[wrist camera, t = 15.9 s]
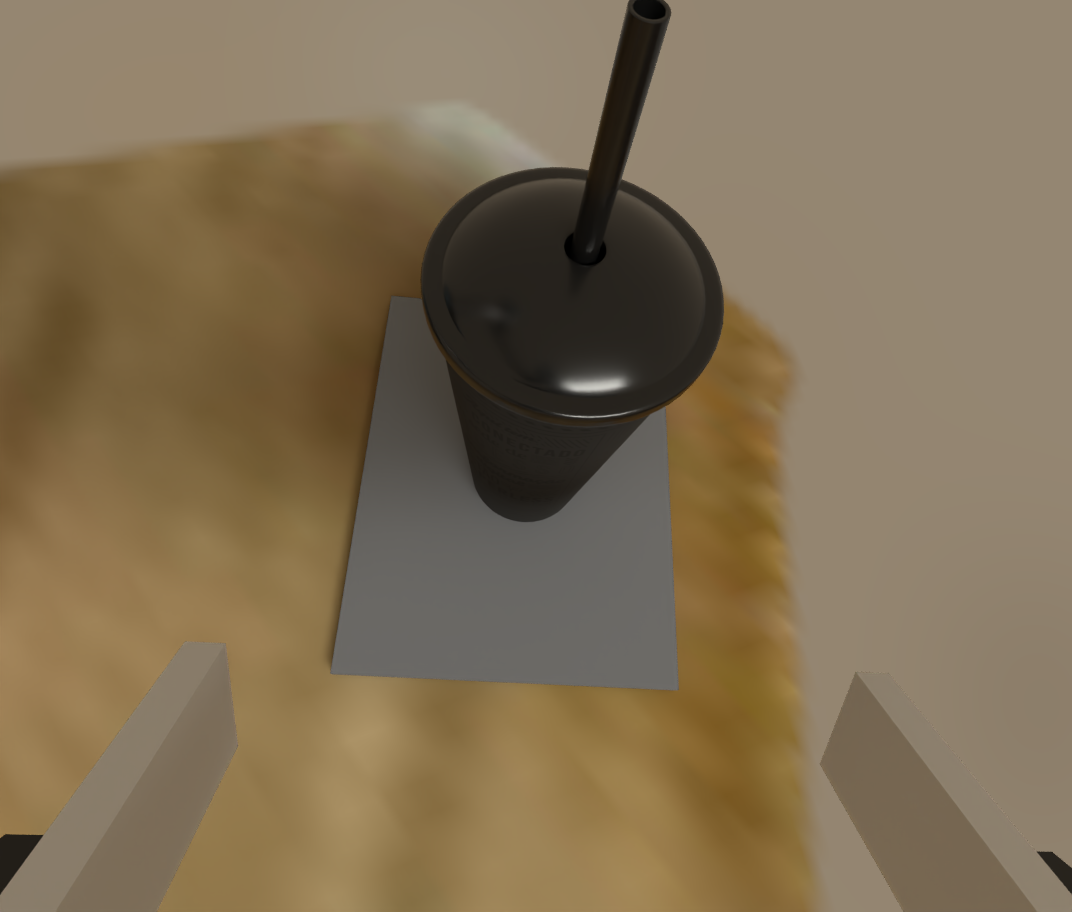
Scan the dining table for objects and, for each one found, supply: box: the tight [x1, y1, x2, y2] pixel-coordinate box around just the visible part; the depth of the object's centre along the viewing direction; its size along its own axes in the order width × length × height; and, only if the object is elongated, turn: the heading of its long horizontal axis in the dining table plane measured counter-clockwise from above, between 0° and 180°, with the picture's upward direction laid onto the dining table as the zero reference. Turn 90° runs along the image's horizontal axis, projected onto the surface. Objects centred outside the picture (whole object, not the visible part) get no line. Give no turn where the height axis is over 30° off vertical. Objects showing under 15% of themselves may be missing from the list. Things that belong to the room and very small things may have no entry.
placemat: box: [330, 296, 679, 690], centre depth 28 cm, size 14×18×1 cm
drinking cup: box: [421, 0, 724, 522], centre depth 18 cm, size 8×8×20 cm
